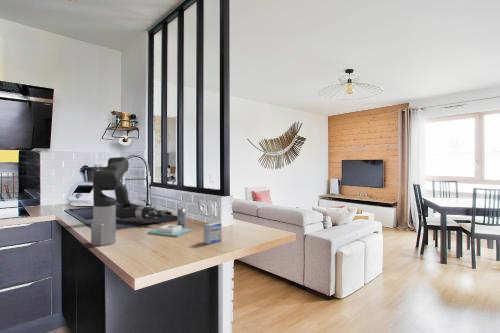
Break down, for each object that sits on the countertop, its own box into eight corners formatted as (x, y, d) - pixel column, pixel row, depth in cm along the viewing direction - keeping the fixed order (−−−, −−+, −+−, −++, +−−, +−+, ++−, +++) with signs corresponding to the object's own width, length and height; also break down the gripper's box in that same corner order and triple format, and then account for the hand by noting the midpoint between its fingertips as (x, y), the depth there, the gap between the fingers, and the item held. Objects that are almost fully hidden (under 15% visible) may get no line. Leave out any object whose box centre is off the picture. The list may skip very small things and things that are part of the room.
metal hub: (182, 227, 162) (182, 210, 162) (175, 226, 163) (175, 209, 163) (186, 225, 166) (186, 208, 166) (180, 225, 168) (180, 208, 167)
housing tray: (177, 237, 140) (177, 231, 140) (147, 233, 146) (147, 228, 146) (191, 230, 153) (192, 225, 153) (164, 228, 159) (164, 222, 159)
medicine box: (209, 244, 128) (210, 225, 128) (203, 242, 131) (203, 224, 131) (221, 241, 134) (221, 223, 134) (214, 239, 137) (215, 221, 137)
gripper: (136, 208, 166) (159, 210, 161) (152, 205, 180) (174, 206, 174) (136, 221, 166) (159, 223, 161) (152, 216, 180) (174, 218, 175)
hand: (167, 214), depth 168 cm, fingers open, 8 cm apart
